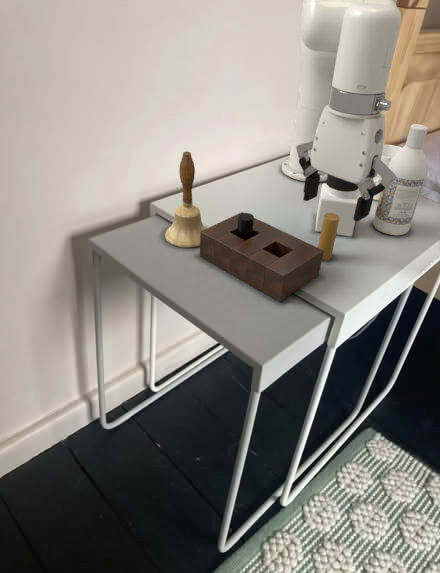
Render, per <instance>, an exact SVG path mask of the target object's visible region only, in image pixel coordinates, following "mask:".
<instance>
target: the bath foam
mask: <svg viewBox="0 0 440 573" xmlns="http://www.w3.org/2000/svg"><path fill="white" fill-rule="evenodd" d="M428 131H429V127H428V126H426V125H424V124H420V123H413V124H411V125H410V127H409V132H408V134H407V138H406V140H405V141H406V142H405V145H404V146H403V147H401V148H402V149H401V150H400V151H398V152H397V153H396V154H395V156H394V157H393V158H392V159H391V161H390V163H389V165H388V168H389V169H390V170H391V171H392V172H393V173H394V174H395V175H396V179H395V180H394V181H393V182H392V183H391V184H390V186H388V187H387V189H386V190H384V191H382V192H381V194H380V198H379V200H377V201H378V202H377V205H376V209H375V212H374V213H375V214H374V217H373V223H372V224H373V226H374V228H375V229H376V230H377V231H379V232H381V233H383V234H386V235H390V236H403V235H405V234H407V233H408V232H409V231H410V228H411V225H412V222H413V219H414V216H415V213H416V209H417V206H418V203H419V199H420V196H421V193H422V190H423V187H424V184H425V181H426V179H427V178H426V177H427V173H428V162H427V158H426V155H425V152H424V149H423V147H424V144H425V140H426V137H427V134H428Z"/></svg>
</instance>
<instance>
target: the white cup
mask: <svg viewBox="0 0 440 573" xmlns="http://www.w3.org/2000/svg"><path fill="white" fill-rule="evenodd" d="M402 148H403V147H401V146H399V145H394V144H383V151H382V157H381V160H382V161H383V163H384V164H385V165H386V166H387V167H388V165H389V163H390V161H391V159H392V158H393V157H394V156H395V154H396V153H397V152H398V151H400V150H401V149H402ZM373 180H374V182H375V184H376V186H377V185H378V184H379V183H380V181H381V180H382V178H381V176H380V175H379V174H377V176H376V177H374V178H373ZM380 194H381V193H379V194H377V195H375V196H374V197H373V201H374V200H375V201H379V198H380Z"/></svg>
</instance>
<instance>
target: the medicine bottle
mask: <svg viewBox="0 0 440 573" xmlns="http://www.w3.org/2000/svg"><path fill="white" fill-rule="evenodd" d="M359 197H361V193H360V190H359V188H358V186H357V184H355V183H351V182H348V181H345V180H343V179H340V178H337V177H334V176H331V175H329V174H328V176H327V181H325V182H324V183H322V184H321V189H320V194H319V200H318V205H317V209H316V210H317V211H316V217H315V225H314V226H315V227H314V231H315V232H316V233H321V229H322V224H323V219H324V215H325V214H326V213H334V214H337V215H338V216H339V217H340V219H339V224H338V228H337V233H336V236H337V235H338V236H345V237H353V235H354V232H355V228H356V224H357V222H356V221H354V219H353V218H354V214H355V209H356V205H357V200H358V198H359Z"/></svg>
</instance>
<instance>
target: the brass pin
mask: <svg viewBox="0 0 440 573" xmlns="http://www.w3.org/2000/svg"><path fill="white" fill-rule="evenodd" d="M339 219H340V217H339V216H338V215H337V214H334V213H326V214H325V215H324V219H323V224H322V229H321V232H320V236H319V239H318V246H317V248H319V249H321V250H323V251H324V252H323V257H322V261H325V262H327V261H330V260H331V259H332V257H333V251H334V247H335V243H336V242H335V241H336V237H337V234H336V233H337V228H338V224H339Z"/></svg>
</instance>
